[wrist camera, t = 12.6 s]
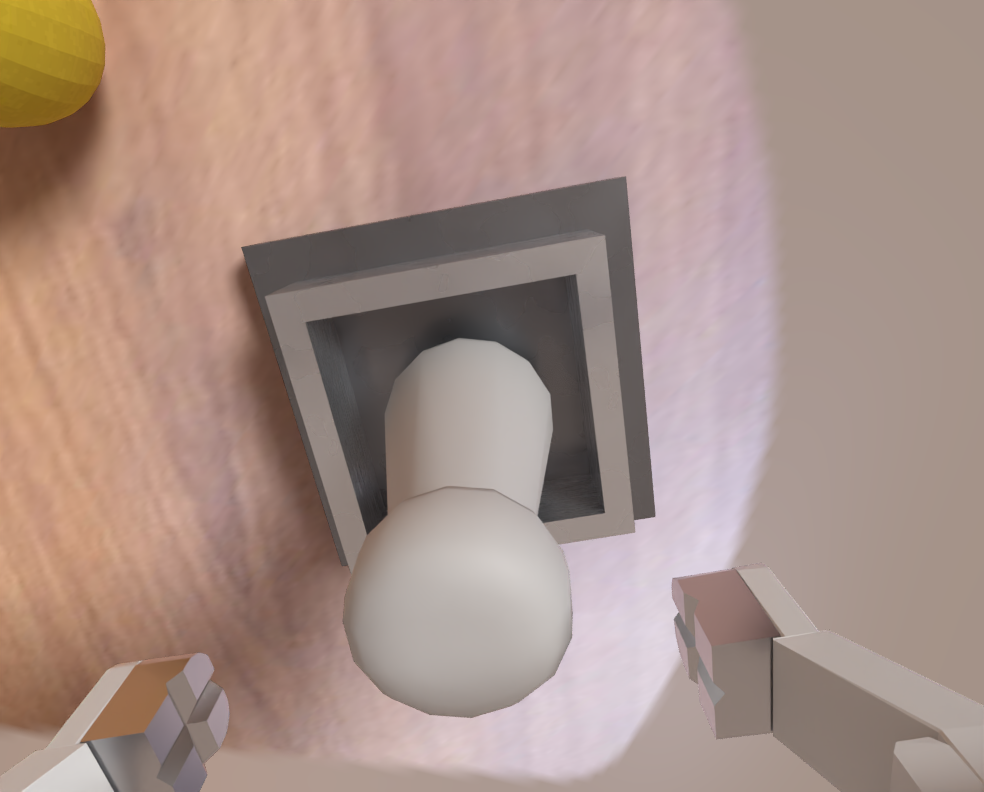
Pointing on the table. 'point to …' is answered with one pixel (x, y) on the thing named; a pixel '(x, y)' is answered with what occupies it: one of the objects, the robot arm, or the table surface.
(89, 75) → the lemon
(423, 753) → the table surface
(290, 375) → the socket block
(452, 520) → the salt shaker
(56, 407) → the table surface
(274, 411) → the table surface
